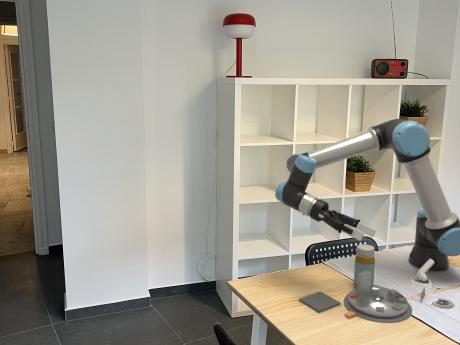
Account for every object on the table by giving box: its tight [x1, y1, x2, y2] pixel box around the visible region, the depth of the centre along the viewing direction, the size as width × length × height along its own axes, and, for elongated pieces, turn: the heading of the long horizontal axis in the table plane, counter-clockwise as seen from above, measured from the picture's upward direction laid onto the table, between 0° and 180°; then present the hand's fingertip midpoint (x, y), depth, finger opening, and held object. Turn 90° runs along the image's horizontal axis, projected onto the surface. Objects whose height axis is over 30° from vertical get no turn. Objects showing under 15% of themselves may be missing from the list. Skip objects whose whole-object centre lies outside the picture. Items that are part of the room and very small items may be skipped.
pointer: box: [344, 311, 357, 320], centre depth 144 cm, size 3×2×1 cm, turn 122°
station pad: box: [298, 290, 342, 314], centre depth 153 cm, size 10×10×1 cm
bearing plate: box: [343, 293, 413, 324], centre depth 151 cm, size 22×22×1 cm
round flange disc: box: [348, 271, 409, 319], centre depth 149 cm, size 19×19×13 cm
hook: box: [410, 259, 434, 289], centre depth 166 cm, size 8×12×7 cm
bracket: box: [419, 288, 455, 309], centre depth 152 cm, size 7×10×3 cm, turn 57°
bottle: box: [353, 243, 376, 287], centre depth 164 cm, size 7×7×15 cm
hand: (368, 235), depth 149 cm, fingers open, 13 cm apart
